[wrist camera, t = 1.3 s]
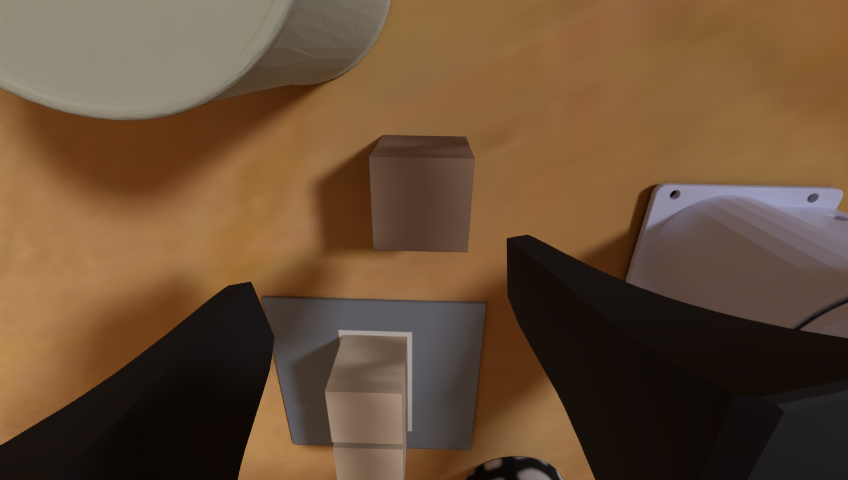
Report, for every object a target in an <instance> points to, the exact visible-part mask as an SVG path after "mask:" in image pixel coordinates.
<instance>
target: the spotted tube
mask: <svg viewBox="0 0 848 480" xmlns="http://www.w3.org/2000/svg"><path fill="white" fill-rule="evenodd" d="M466 480H563V479H562V477H561V475H560V473H559V472H558V471H557V470H556V469H555V468H554V467H552V466H551V465H549V464H547V463H545V462H543V461H540V460H537V459H533V458H527V457H507V458H500V459H496V460H492V461H490V462H487V463H485V464H483V465H481V466H479V467H478V468H476V469H475V470H474V471H473V472H472V473H470V475H469V476H468V478H467V479H466Z"/></svg>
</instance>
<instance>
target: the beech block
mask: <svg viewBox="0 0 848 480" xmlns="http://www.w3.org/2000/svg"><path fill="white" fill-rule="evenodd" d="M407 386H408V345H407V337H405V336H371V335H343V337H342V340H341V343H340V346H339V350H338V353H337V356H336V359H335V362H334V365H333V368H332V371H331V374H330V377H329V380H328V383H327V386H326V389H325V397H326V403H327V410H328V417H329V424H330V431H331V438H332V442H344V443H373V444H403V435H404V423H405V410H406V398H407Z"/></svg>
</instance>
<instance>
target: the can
mask: <svg viewBox="0 0 848 480" xmlns="http://www.w3.org/2000/svg"><path fill="white" fill-rule="evenodd" d="M390 3H391V0H0V88H1V89H4V90H6V91H8V92H10V93H13V94H15V95H17V96H19V97H21V98H24V99H26V100H28V101H31V102H34V103H37V104H40V105H42V106H45V107H48V108H51V109H54V110H58V111H62V112H66V113H70V114H74V115H78V116H83V117H90V118H97V119H107V120H121V121H138V120H148V119H157V118H162V117H167V116H172V115H176V114H179V113H182V112H185V111H188V110H191V109H193V108H196V107H198V106H201V105H203V104H205V103H208V102H212V101H216V100H220V99H225V98H229V97H233V96H238V95H242V94H247V93H251V92H256V91H261V90H266V89H271V88H276V87H281V86H286V85H312V84H318V83H322V82H326V81H329V80H331V79H334V78H336V77H338V76H340V75H342V74H344V73H345V72H347V71H348V70H350V69H351V68H353V67H354V66H355V65H356V64H357V63H358V62H359V61H360V60H361V59H362V58H363V57H364V56H365V55H366V54H367V53H368V52H369V50H370V49H371V48H372V46H373V45H374V43H375V41H376V40H377V38H378V36H379V34H380V32H381V30H382V28H383V26H384V23H385V21H386V17H387V14H388V11H389V7H390Z"/></svg>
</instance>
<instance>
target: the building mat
mask: <svg viewBox="0 0 848 480" xmlns="http://www.w3.org/2000/svg"><path fill="white" fill-rule="evenodd" d="M262 301H263V306H264V311H265V315H266V318H267V320H268V323H269V325H270V327H271V330H272V332H273V334H274V337H275V339H274V346H273V352H274V357H275V362H276V366H277V371H278V376H279V380H280V385H281V390H282V394H283V399H284V403H285V408H286V413H287V417H288V422H289V427H290V431H291V436H292V441H293V444H297V445H327V446H333V445H334V442H332V438H331V431H330V424H329V417H328V410H327V403H326V397H325V389H326V386H327V383H328V380H329V377H330V374H331V371H332V368H333V365H334V362H335V359H336V356H337V353H338V350H339V346H340V343H341V340H342V337H343V335H371V336H405V337H407V345H408V386H407V388H408V435H407V448H416V449H445V450H470V449H471V440H472V431H473V422H474V413H475V404H476V395H477V386H478V376H479V367H480V358H481V349H482V340H483V331H484V322H485V312H486V303H484V302H448V301H411V300H375V299H338V298H302V297H265V296H263V297H262Z"/></svg>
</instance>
